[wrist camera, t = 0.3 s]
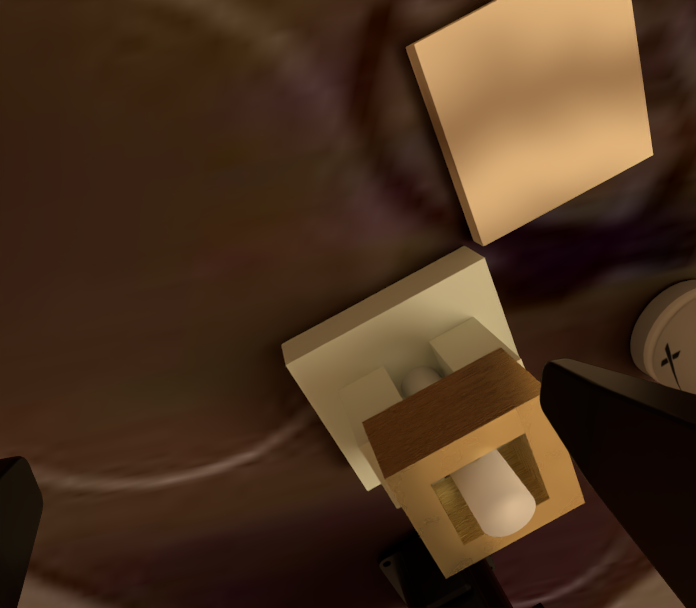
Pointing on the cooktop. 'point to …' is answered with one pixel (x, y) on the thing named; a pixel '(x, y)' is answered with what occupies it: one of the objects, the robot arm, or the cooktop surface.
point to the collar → (471, 455)
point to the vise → (412, 371)
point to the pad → (533, 105)
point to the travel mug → (668, 338)
